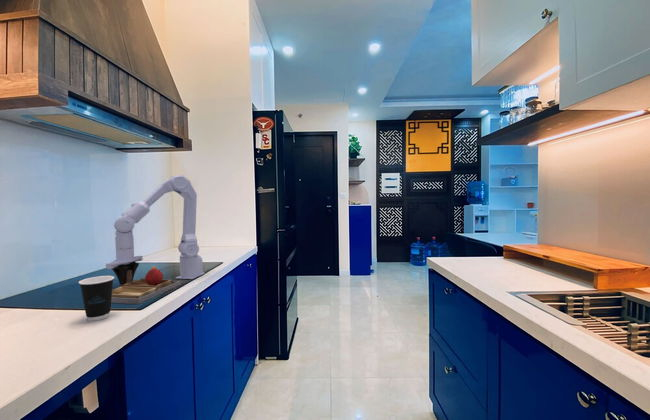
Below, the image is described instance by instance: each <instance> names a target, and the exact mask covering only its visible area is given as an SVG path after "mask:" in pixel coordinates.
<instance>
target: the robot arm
mask: <svg viewBox="0 0 650 420" xmlns="http://www.w3.org/2000/svg"><path fill="white" fill-rule="evenodd" d="M171 192H175V193H177V194H178V195H179V196H180V197H182V198H183V214H182V235H181V237H180V242H179V244H178V251H179V253H180V255H179V276H176V277H175V279H177V280H178V279H180V280H193V279H196V278H198V277H200V276H202V275H204V274H205V272H204V270H203V266H204V265H203V263H204V262H203V257H202V256H201V255H200V254H199V252H200V246H199V244H198V238H197V235H196V227H197V226H196V225H197V224H196V223H197V221H196V220H197V196H198V195H197V192H196V190H195V188H194V187H193V185H192V182H191V180H189V179H188V178H187V177H186V176H184V175H182V174H177V175H175V176H171V177H169V178H168V179H167V180H165V181H164V182H162V183H161V184H159V185H158V186H157V188H155V189H154V190H153V191H152V192H151V193H150V194H149V195H148V196H147V197H145V199H144V200H142V201H137V202H133V203H132V204H131V205H130V206H131V207H129V208H128V210H126V211H125V212H122V213H121V214H120V216H121V217H118V218H116V219H115V221H114V224H113V227H114V229H115V232H114V233H115V236H114V237H115V238H114V241H115V243H114V245H115V259H114V261H110V262H107V263H105V268H106V269H107V270H112V271H113V273H114V274H115V276H116V277H117V280H118V282H119V286H120V285H124V284H126V281H127V271H128V270H132V282H133V281H134V277H135V274H136V272H137V269H138V268H139V266H140V263H139V262H142V261H143V255H135V244H134V243H135V241H134V240H135V238H134V233H133V232H134V231H133V230H134V228H135V224H138V223H139V222H141V220H142V219H143V218H144V217H146V216H147V215H148V214H149V212H150V211H151V210H150V208H151V206H152V205H154V204H155V203H156V202H157V201H158V200H159V199H161V197H163V196H164V195H165V194H167V193H171Z"/></svg>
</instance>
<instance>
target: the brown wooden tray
mask: <svg viewBox="0 0 650 420" xmlns="http://www.w3.org/2000/svg"><path fill="white" fill-rule="evenodd" d="M181 283H182V281H181V280H173V284H171V285H169V286H166V287H164V288H162V289H157V291H155V292H152V293H150V294H148V295H145V296H143V297H141V298H117V297H112V298H111V304H128V305H129V304H131V305H140V304H142V303H145V302H146V300H147V301H148V299H149V300H151V299H153V298H155V297H154V296H156V297H157V295H158V296H160V295H162V294H164V293H166V292H165V291H167V292H168V290H169V291H171V290H173V289H175V288H177V286H178V287H180V286H181V285H182V284H181ZM179 285H180V286H179ZM172 288H173V289H172ZM170 289H171V290H170ZM163 292H164V293H163ZM161 293H162V294H161ZM159 294H160V295H159ZM152 297H153V298H152ZM150 298H151V299H150ZM144 301H145V302H144Z"/></svg>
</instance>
